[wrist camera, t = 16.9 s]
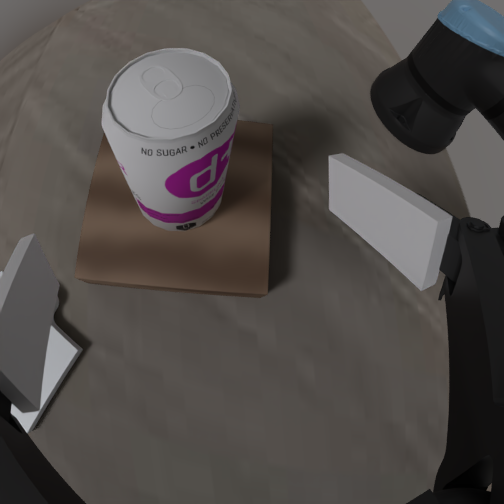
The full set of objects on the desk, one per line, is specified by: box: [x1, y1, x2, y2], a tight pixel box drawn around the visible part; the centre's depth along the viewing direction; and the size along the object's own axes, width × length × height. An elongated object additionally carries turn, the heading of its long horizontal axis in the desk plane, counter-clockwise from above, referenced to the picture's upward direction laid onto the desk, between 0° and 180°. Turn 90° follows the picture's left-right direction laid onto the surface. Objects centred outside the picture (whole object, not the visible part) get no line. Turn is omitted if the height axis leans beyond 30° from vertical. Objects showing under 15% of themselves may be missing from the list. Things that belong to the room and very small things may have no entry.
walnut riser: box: [75, 120, 273, 298], centre depth 32 cm, size 18×18×4 cm
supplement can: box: [102, 48, 240, 231], centre depth 23 cm, size 8×8×15 cm
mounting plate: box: [0, 271, 83, 434], centre depth 27 cm, size 18×13×2 cm
